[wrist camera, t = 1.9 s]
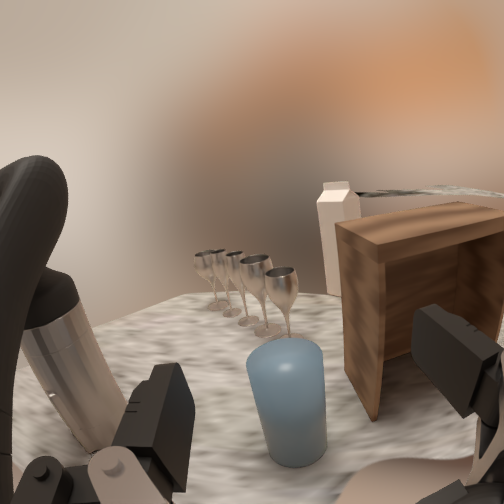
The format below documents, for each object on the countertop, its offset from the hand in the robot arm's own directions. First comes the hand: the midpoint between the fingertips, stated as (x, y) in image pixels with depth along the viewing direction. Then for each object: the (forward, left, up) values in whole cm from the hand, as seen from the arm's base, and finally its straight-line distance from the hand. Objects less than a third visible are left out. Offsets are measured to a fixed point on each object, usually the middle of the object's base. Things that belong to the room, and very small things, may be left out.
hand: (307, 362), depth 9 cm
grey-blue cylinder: (+9, +7, -20) cm, 23 cm away
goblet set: (+30, +29, -20) cm, 46 cm away
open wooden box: (+24, -3, -20) cm, 31 cm away
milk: (+46, +15, -20) cm, 52 cm away
